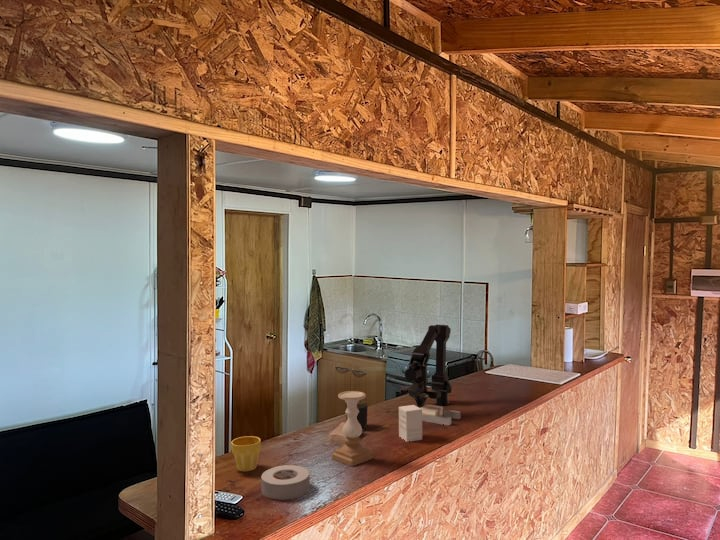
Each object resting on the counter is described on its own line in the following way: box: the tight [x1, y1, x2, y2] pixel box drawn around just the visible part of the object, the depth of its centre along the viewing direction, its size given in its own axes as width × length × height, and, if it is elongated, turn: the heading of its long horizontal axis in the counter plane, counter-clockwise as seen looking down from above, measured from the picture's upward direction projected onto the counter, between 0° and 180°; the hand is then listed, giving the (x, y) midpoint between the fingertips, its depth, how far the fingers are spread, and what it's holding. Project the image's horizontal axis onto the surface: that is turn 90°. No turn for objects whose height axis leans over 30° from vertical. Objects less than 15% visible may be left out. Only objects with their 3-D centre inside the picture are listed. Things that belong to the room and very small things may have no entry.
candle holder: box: [331, 390, 373, 467], centre depth 202 cm, size 11×11×24 cm
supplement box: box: [398, 404, 423, 443], centre depth 224 cm, size 7×7×13 cm
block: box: [421, 403, 444, 416], centre depth 251 cm, size 8×8×5 cm
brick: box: [328, 421, 346, 447], centre depth 224 cm, size 17×8×5 cm, turn 162°
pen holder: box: [345, 403, 369, 431], centre depth 238 cm, size 9×9×10 cm
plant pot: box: [230, 435, 262, 472], centre depth 193 cm, size 10×10×10 cm
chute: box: [422, 408, 462, 426], centre depth 250 cm, size 13×18×3 cm
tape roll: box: [260, 464, 311, 501], centre depth 176 cm, size 15×15×5 cm
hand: (420, 410), depth 255 cm, fingers closed
